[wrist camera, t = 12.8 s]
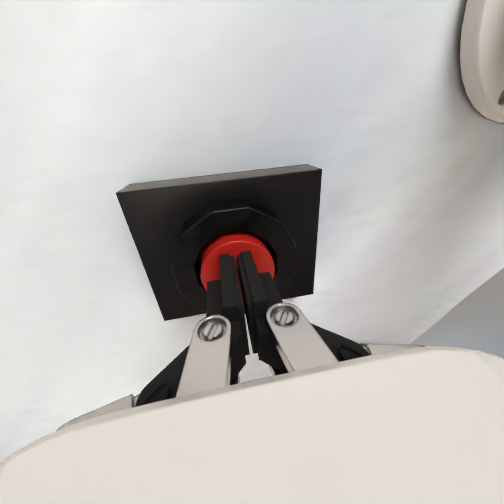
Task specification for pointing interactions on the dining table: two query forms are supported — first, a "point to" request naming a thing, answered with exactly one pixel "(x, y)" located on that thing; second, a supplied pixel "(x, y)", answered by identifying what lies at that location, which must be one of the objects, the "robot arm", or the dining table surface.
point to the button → (234, 254)
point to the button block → (223, 228)
